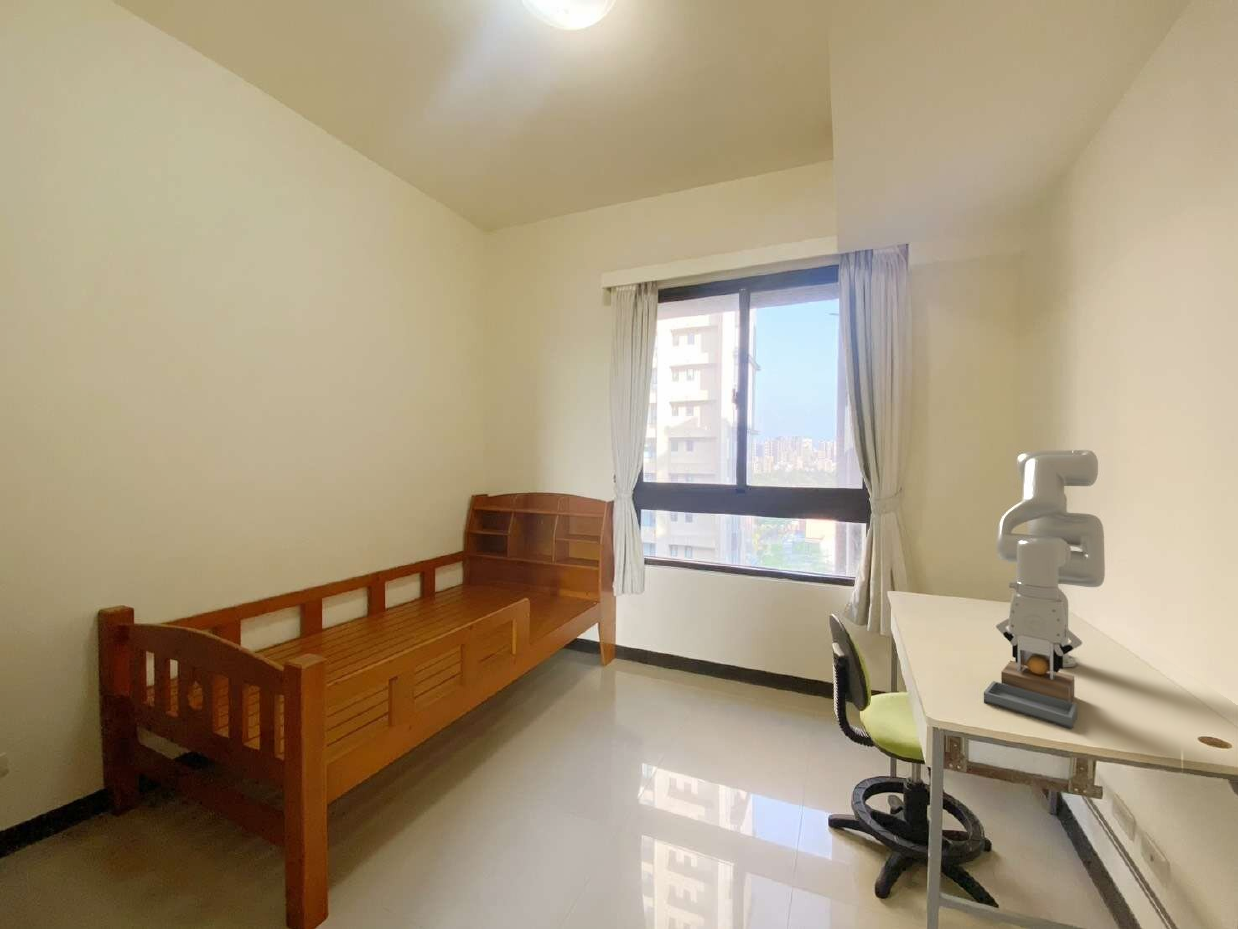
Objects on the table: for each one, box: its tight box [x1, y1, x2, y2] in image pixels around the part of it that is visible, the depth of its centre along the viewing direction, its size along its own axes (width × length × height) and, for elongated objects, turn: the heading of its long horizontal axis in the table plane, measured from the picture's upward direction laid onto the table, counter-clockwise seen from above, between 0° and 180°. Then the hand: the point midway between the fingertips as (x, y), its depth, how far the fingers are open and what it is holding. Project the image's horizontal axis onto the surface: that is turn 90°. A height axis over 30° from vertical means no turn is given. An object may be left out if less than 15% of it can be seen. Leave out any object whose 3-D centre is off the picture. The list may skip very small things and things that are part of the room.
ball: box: [1027, 657, 1049, 675], centre depth 116 cm, size 4×4×4 cm
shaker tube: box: [1018, 635, 1057, 680], centre depth 116 cm, size 6×6×9 cm
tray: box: [983, 680, 1078, 730], centre depth 110 cm, size 9×15×2 cm, turn 41°
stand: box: [1000, 660, 1075, 703], centre depth 116 cm, size 10×12×5 cm
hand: (1037, 665), depth 116 cm, fingers closed on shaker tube, 6 cm apart
